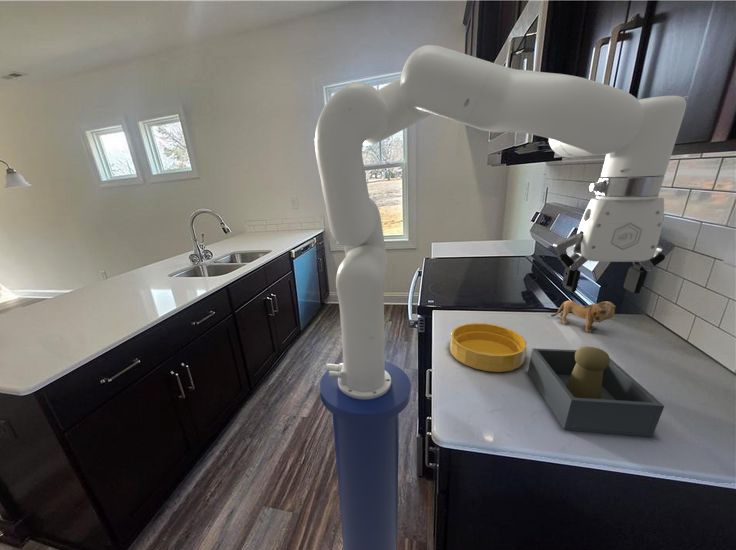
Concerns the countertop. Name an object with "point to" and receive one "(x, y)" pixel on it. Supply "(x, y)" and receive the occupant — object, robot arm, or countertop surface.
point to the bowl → (488, 347)
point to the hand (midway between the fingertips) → (599, 290)
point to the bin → (606, 415)
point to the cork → (588, 373)
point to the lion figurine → (587, 312)
